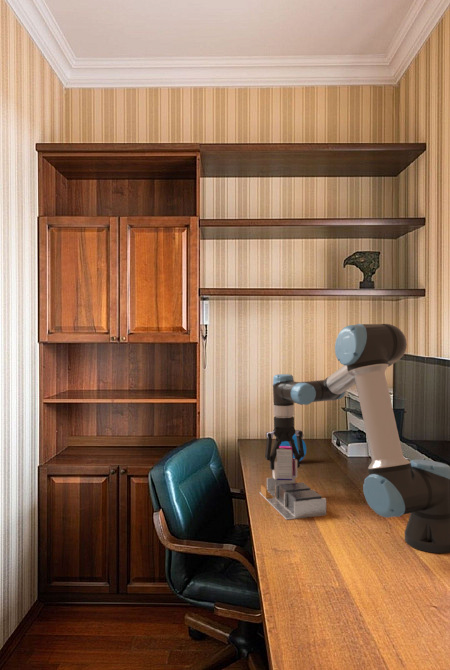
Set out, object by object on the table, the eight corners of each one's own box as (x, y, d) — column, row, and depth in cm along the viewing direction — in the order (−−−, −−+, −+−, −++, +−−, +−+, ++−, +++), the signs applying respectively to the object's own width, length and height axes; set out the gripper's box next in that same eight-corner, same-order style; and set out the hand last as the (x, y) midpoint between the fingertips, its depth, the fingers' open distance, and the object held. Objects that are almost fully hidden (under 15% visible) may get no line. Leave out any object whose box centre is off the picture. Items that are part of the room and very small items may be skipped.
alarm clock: (304, 460, 247) (304, 428, 247) (307, 464, 241) (306, 431, 241) (276, 461, 247) (275, 429, 247) (278, 464, 241) (277, 431, 240)
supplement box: (292, 480, 194) (291, 449, 194) (276, 480, 195) (275, 449, 195) (293, 476, 200) (292, 445, 199) (278, 475, 201) (277, 445, 201)
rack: (326, 515, 176) (326, 497, 176) (286, 519, 172) (285, 501, 172) (294, 489, 204) (294, 474, 204) (259, 493, 200) (259, 477, 200)
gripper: (305, 412, 203) (306, 472, 203) (254, 416, 198) (256, 477, 199) (313, 415, 196) (314, 477, 196) (260, 419, 191) (262, 482, 191)
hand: (285, 477), depth 197 cm, fingers closed on supplement box, 7 cm apart
